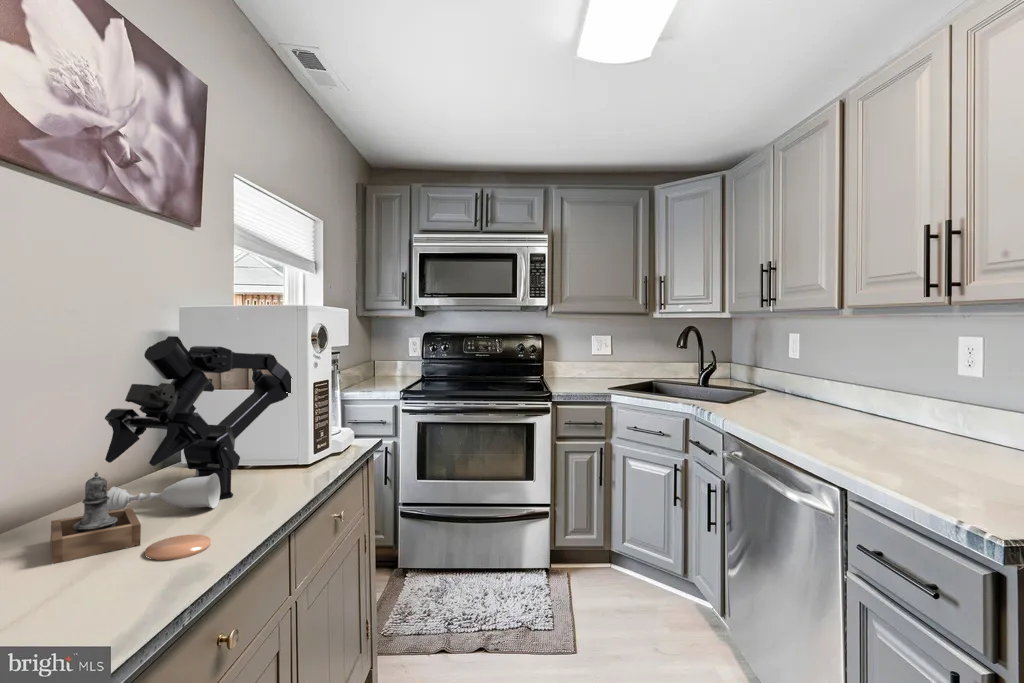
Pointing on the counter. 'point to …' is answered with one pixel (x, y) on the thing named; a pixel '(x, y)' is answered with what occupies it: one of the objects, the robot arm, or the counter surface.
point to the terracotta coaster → (177, 547)
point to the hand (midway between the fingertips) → (129, 463)
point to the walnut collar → (93, 536)
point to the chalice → (174, 494)
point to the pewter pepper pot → (95, 507)
